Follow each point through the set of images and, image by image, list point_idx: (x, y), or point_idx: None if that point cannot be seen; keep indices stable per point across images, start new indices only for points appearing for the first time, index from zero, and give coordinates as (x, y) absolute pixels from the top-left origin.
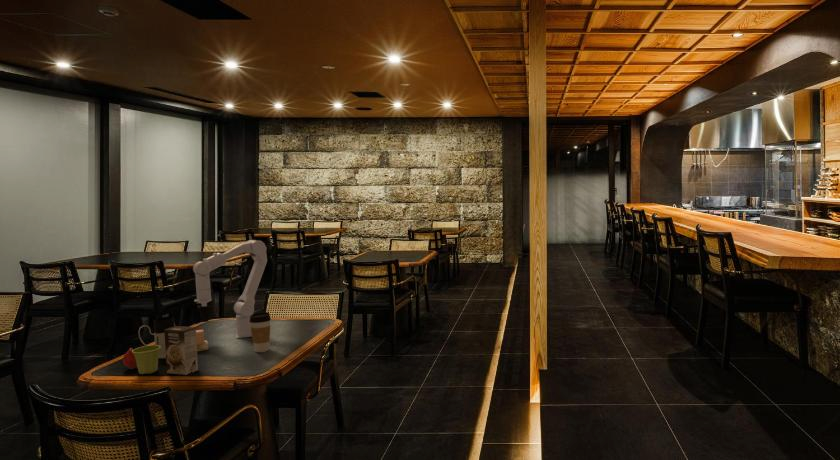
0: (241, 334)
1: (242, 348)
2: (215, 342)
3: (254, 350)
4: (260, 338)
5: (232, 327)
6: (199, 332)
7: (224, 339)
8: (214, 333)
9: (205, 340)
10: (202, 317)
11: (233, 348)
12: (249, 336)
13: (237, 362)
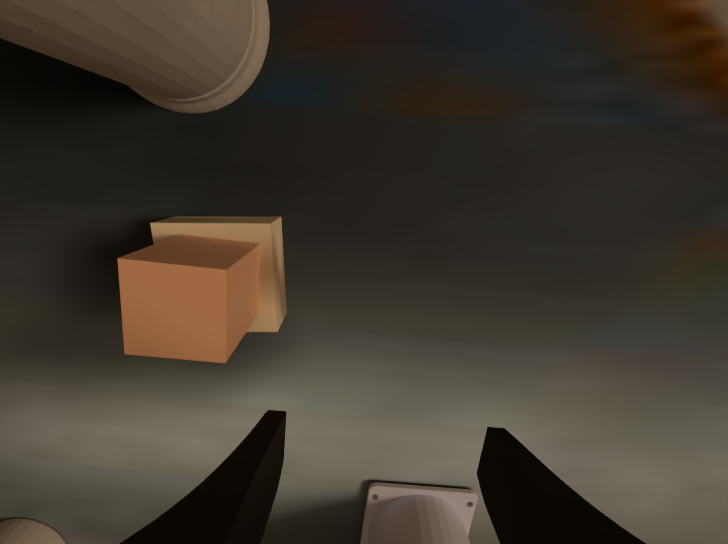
0: (378, 522)
1: (115, 477)
2: (358, 369)
3: (10, 522)
4: None
5: (692, 492)
6: (125, 318)
7: (402, 421)
8: (620, 387)
9: (273, 324)
10: (239, 454)
11: (140, 439)
12: (360, 540)
13: None
